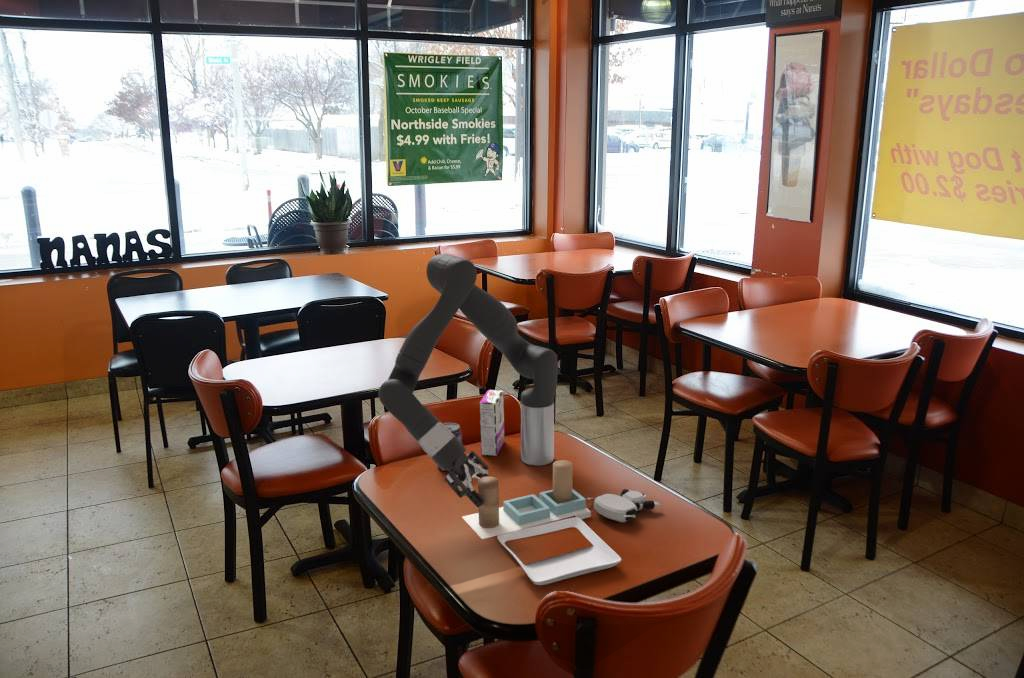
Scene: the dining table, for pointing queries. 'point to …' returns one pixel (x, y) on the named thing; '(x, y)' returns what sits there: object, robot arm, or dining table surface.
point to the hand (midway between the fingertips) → (488, 496)
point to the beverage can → (454, 431)
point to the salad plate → (568, 562)
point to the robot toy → (622, 505)
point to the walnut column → (489, 502)
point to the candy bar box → (492, 422)
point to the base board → (537, 506)
